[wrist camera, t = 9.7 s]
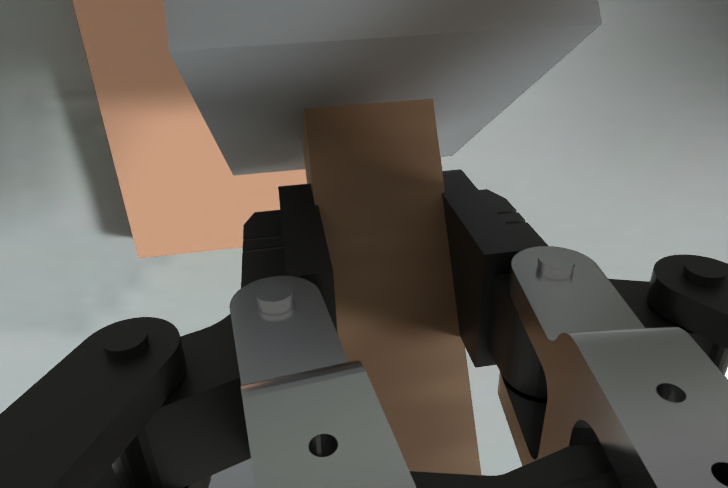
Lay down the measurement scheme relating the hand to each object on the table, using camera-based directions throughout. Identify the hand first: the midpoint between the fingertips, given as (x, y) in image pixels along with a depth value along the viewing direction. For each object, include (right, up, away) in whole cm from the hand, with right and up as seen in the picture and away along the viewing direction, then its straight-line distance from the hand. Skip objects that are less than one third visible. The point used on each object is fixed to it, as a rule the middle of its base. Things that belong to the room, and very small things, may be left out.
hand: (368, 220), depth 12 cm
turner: (0, +3, 0) cm, 3 cm away
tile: (0, +4, +7) cm, 9 cm away
